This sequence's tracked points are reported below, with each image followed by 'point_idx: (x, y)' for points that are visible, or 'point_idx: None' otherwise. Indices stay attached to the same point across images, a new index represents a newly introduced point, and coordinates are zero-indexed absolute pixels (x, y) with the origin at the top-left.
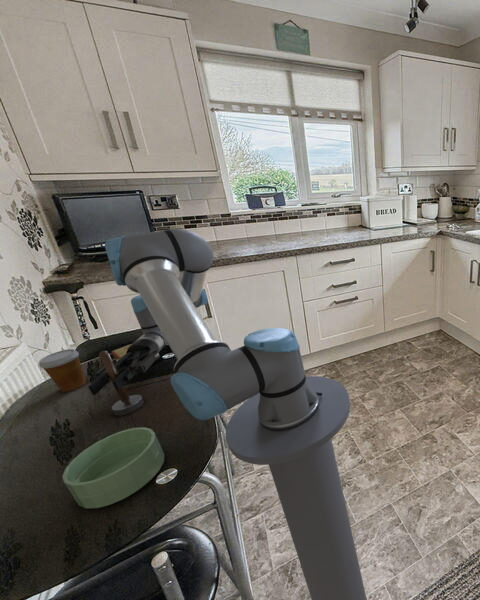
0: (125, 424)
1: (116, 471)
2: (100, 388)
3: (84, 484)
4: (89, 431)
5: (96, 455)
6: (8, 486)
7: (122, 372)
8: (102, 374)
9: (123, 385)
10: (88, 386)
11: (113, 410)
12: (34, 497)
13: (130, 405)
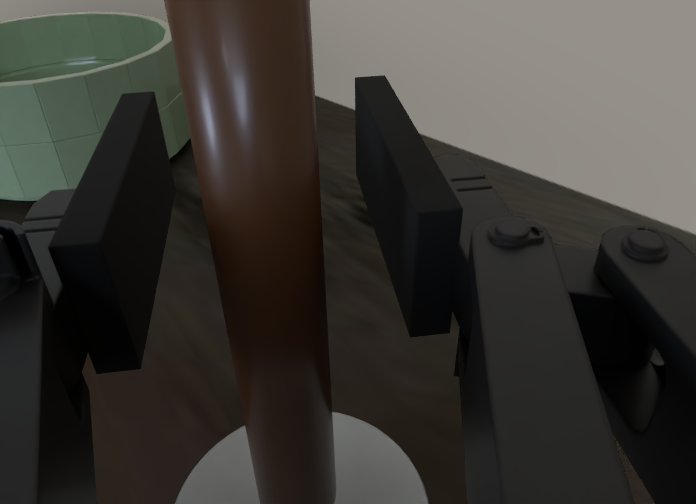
0: (214, 356)
1: (8, 20)
2: (371, 207)
3: (85, 12)
4: (432, 337)
5: None
6: (484, 159)
7: (110, 190)
8: (449, 198)
9: (236, 380)
10: (385, 77)
11: (364, 425)
12: (335, 133)
13: (224, 447)
